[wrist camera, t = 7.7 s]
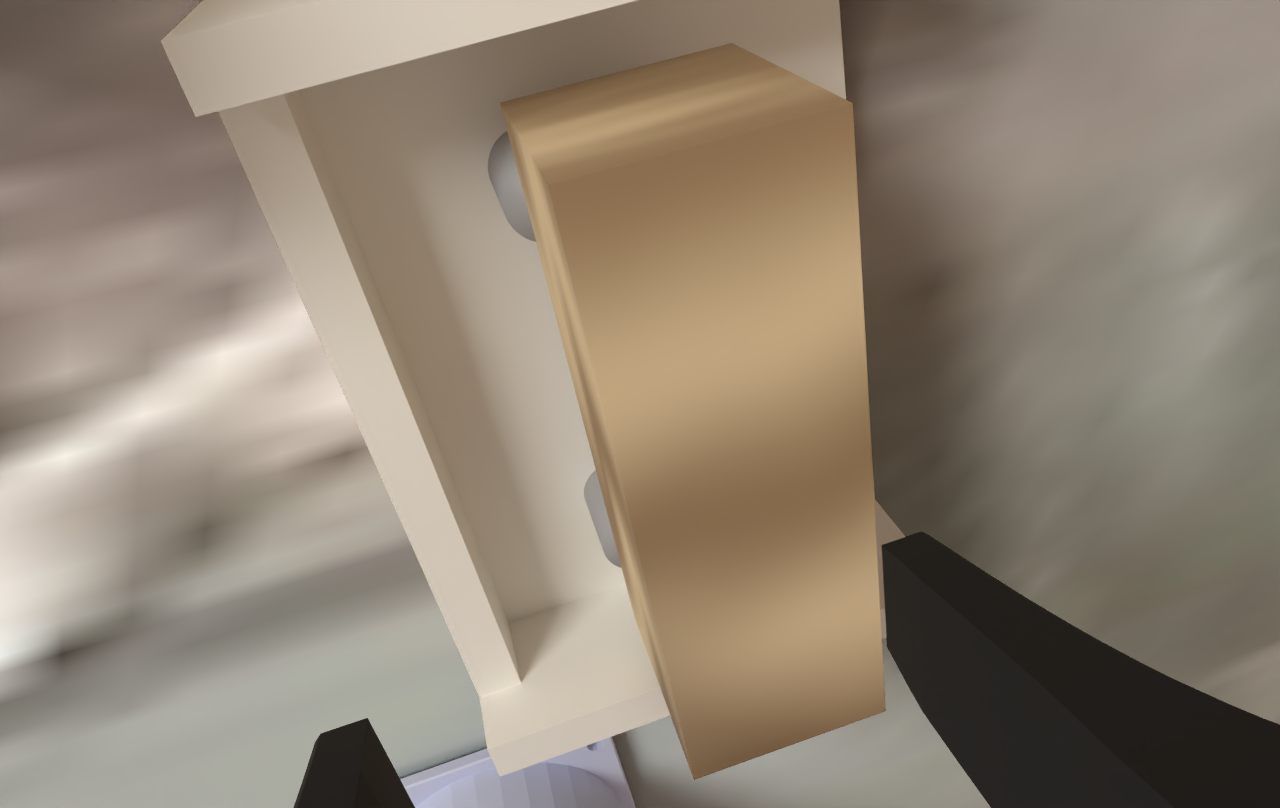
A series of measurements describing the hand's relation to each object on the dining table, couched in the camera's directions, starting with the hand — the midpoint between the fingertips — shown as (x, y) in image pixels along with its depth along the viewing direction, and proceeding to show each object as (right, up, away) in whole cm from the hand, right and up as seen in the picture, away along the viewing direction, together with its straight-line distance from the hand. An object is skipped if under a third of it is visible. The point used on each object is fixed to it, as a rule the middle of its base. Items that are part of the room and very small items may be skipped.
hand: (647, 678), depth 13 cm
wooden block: (+1, +4, +6) cm, 7 cm away
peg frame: (-1, +6, +8) cm, 10 cm away
